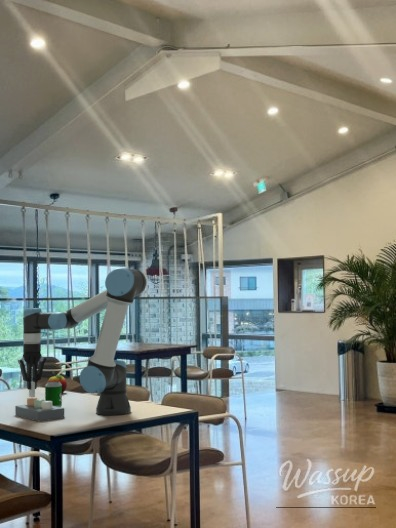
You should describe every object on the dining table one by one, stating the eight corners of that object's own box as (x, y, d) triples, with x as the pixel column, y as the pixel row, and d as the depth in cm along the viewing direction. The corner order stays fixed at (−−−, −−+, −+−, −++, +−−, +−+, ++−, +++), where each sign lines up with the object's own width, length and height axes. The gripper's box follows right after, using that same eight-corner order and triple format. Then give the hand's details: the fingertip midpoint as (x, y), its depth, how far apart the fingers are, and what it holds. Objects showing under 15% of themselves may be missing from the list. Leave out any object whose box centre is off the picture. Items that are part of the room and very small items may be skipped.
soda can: (57, 409, 300) (57, 383, 301) (42, 409, 302) (42, 383, 303) (64, 407, 308) (64, 381, 308) (49, 407, 309) (49, 381, 310)
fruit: (61, 391, 366) (60, 373, 367) (70, 393, 358) (70, 374, 359) (43, 393, 360) (43, 375, 360) (52, 395, 351) (52, 376, 352)
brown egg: (39, 409, 288) (39, 398, 288) (29, 411, 285) (29, 399, 286) (34, 408, 292) (34, 397, 292) (25, 409, 289) (25, 398, 289)
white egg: (54, 413, 277) (54, 401, 278) (44, 414, 275) (44, 402, 275) (49, 412, 281) (49, 400, 281) (39, 413, 278) (39, 401, 278)
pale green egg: (46, 411, 283) (46, 400, 283) (37, 412, 280) (37, 401, 280) (41, 410, 286) (41, 399, 286) (32, 411, 283) (32, 400, 284)
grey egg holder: (64, 417, 278) (64, 408, 279) (38, 421, 271) (38, 411, 271) (40, 411, 295) (40, 402, 295) (15, 415, 288) (15, 405, 288)
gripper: (41, 342, 297) (41, 394, 296) (14, 343, 289) (14, 397, 288) (49, 342, 292) (49, 396, 290) (21, 344, 283) (21, 399, 282)
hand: (32, 396), depth 289 cm, fingers closed
